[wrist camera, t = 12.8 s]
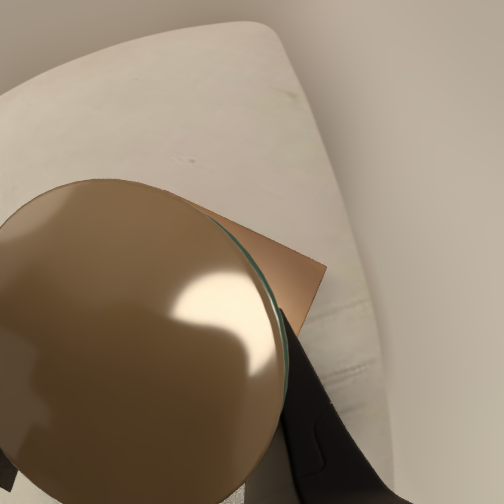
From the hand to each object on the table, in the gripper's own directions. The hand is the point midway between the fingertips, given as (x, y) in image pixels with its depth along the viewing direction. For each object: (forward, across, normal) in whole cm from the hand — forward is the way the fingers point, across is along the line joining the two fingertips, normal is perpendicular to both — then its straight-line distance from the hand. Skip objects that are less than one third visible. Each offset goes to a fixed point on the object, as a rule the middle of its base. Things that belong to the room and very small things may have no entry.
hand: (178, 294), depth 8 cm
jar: (+2, 0, +4) cm, 4 cm away
